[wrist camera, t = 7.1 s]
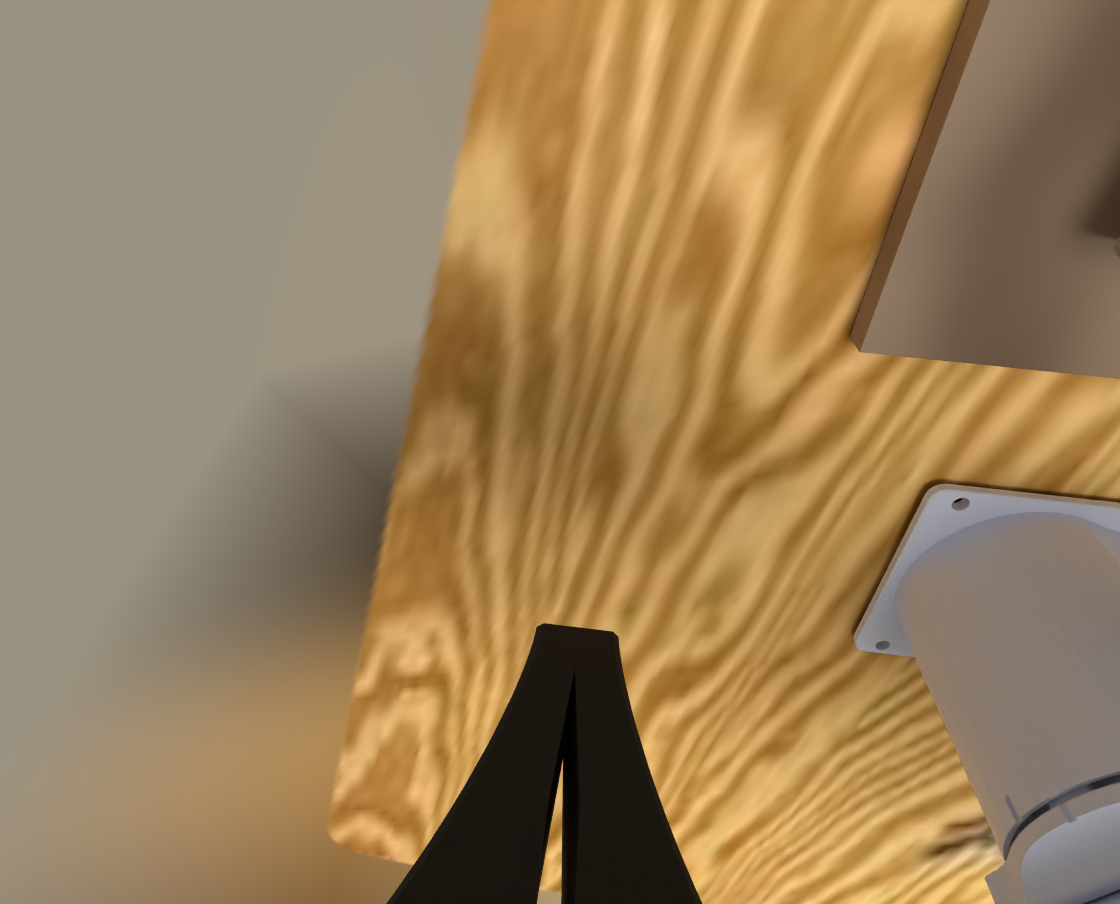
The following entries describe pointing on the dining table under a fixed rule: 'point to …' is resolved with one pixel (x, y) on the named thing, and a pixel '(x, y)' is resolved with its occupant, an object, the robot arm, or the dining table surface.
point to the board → (1011, 200)
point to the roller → (1117, 248)
